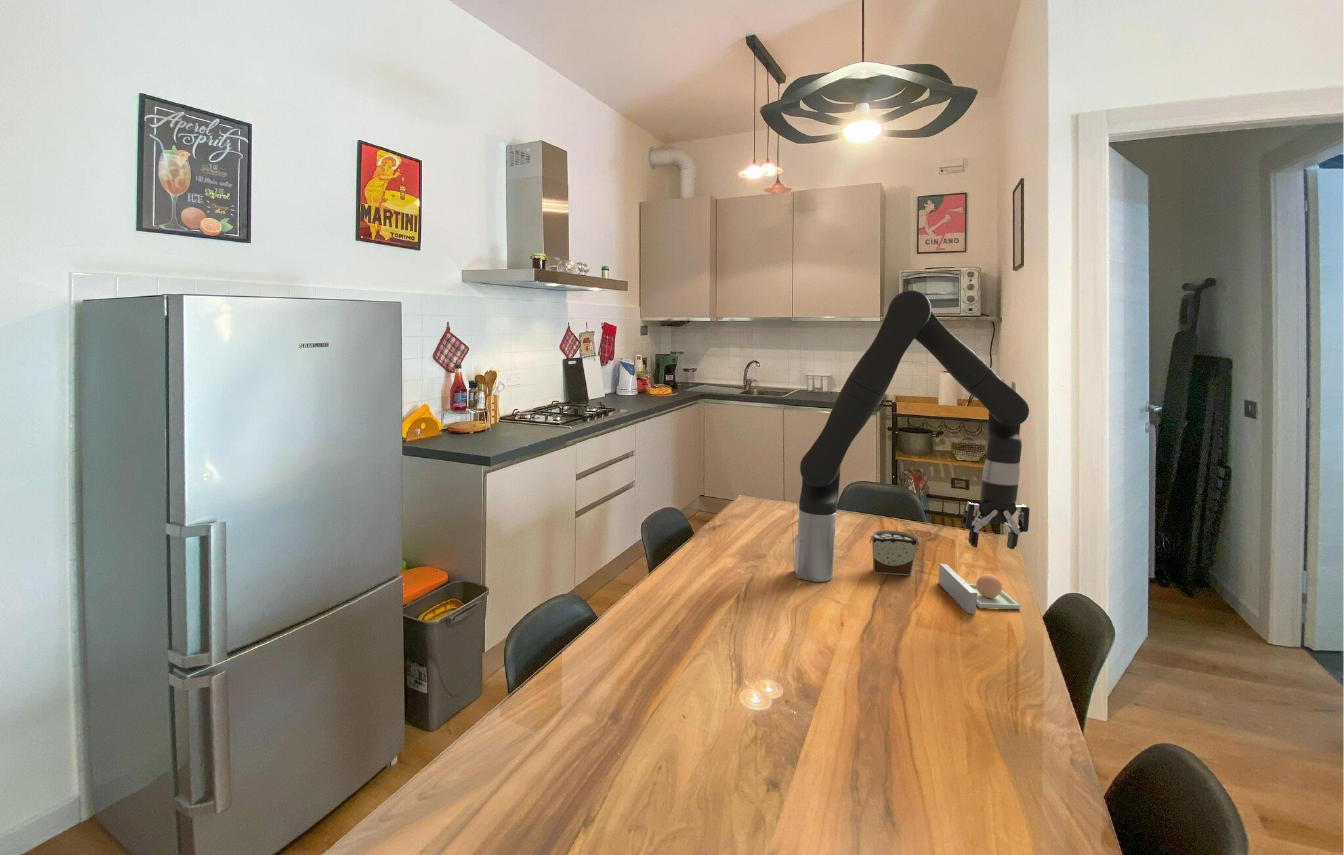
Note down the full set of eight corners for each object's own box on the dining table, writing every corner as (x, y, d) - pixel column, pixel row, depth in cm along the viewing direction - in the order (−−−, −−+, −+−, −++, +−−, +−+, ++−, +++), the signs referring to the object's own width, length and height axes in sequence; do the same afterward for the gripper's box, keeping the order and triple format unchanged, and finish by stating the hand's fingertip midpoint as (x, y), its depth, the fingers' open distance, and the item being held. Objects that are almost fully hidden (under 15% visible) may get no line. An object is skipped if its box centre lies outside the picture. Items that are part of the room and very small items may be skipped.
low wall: (968, 613, 146) (970, 592, 145) (938, 582, 164) (939, 563, 163) (975, 614, 146) (977, 592, 145) (944, 582, 164) (946, 563, 163)
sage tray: (979, 608, 149) (979, 603, 149) (958, 588, 161) (958, 583, 161) (1019, 610, 149) (1019, 605, 149) (995, 589, 161) (995, 584, 160)
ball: (980, 601, 152) (983, 578, 151) (971, 591, 157) (973, 570, 157) (1004, 602, 152) (1007, 579, 151) (994, 592, 157) (996, 571, 156)
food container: (910, 567, 174) (913, 531, 173) (916, 575, 168) (920, 538, 167) (863, 564, 176) (866, 528, 174) (867, 572, 170) (870, 535, 168)
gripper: (976, 482, 147) (968, 551, 149) (1040, 485, 146) (1031, 554, 149) (962, 474, 154) (955, 540, 157) (1023, 477, 154) (1015, 543, 156)
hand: (992, 547), depth 153 cm, fingers open, 8 cm apart
